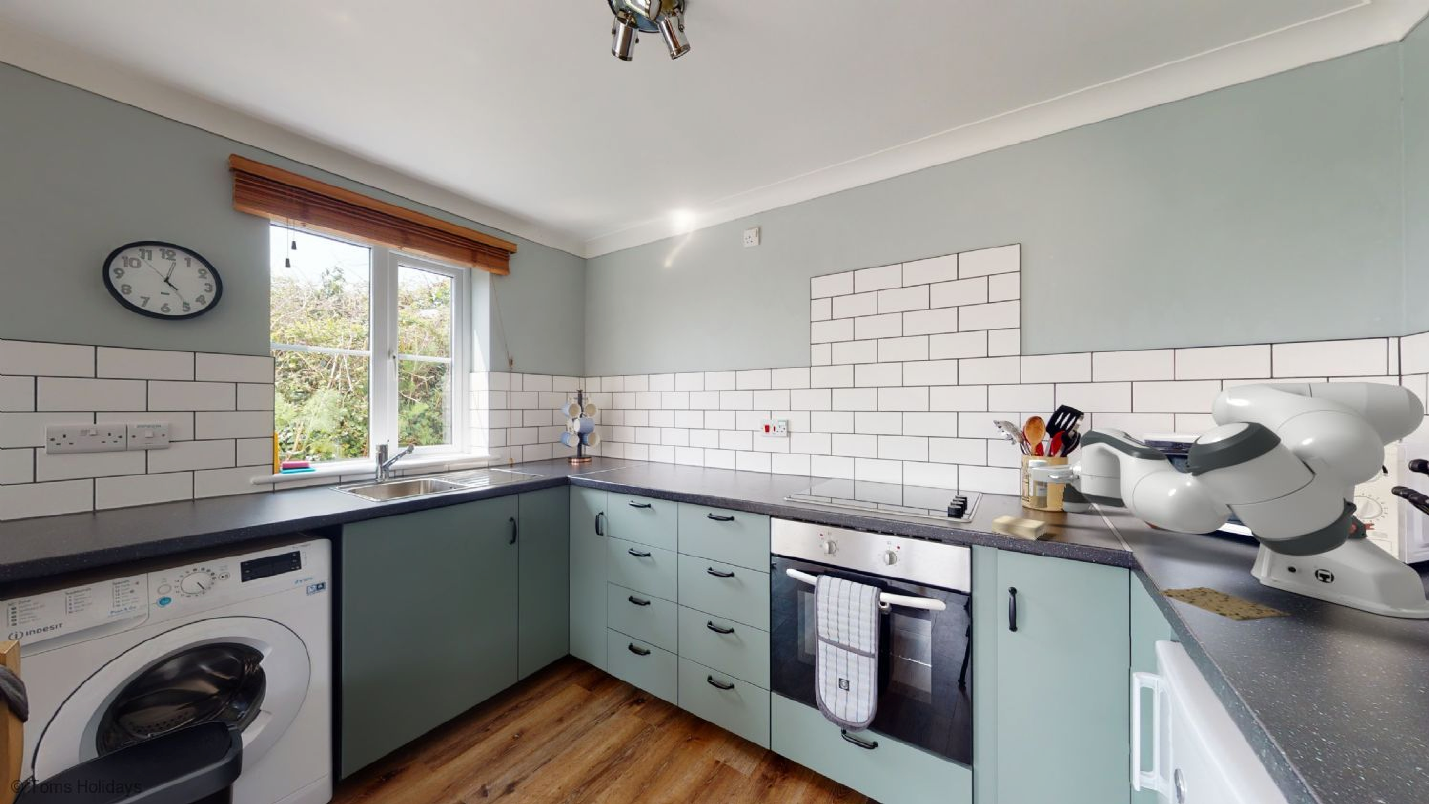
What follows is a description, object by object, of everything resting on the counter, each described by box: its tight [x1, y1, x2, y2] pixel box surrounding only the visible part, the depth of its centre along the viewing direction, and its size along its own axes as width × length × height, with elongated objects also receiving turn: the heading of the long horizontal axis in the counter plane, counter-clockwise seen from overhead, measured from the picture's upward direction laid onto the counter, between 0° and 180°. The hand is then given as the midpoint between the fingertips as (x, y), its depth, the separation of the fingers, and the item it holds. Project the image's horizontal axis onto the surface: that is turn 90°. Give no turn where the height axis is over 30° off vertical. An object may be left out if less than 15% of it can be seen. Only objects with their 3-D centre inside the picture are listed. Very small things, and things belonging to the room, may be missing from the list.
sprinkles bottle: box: [1028, 459, 1049, 509], centre depth 140 cm, size 5×5×14 cm
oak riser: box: [991, 514, 1047, 541], centre depth 130 cm, size 10×10×3 cm
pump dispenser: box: [1062, 463, 1092, 514], centre depth 157 cm, size 10×10×15 cm
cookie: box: [1157, 586, 1291, 622], centre depth 85 cm, size 12×12×1 cm
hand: (1035, 469), depth 141 cm, fingers closed on sprinkles bottle, 4 cm apart
